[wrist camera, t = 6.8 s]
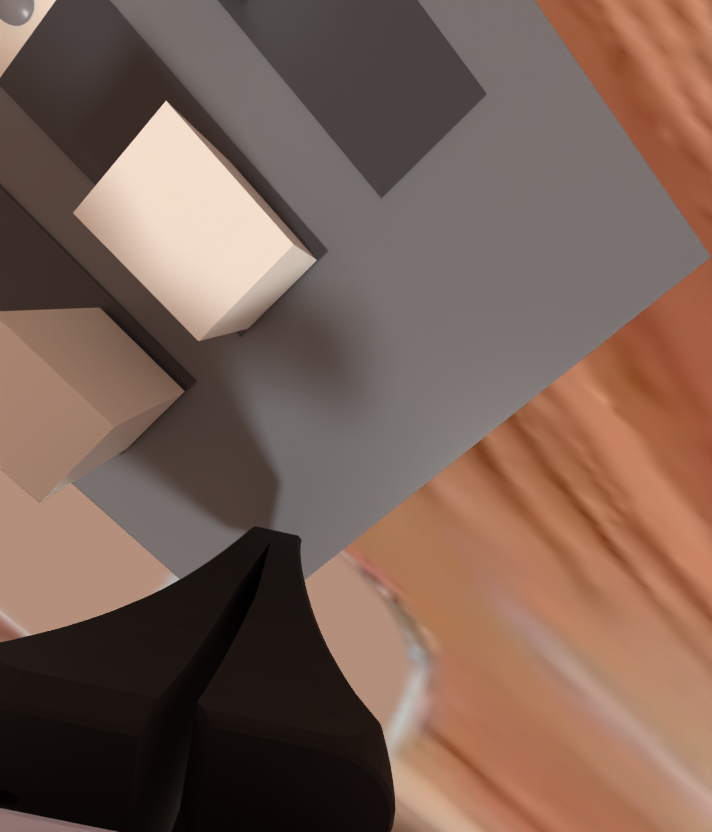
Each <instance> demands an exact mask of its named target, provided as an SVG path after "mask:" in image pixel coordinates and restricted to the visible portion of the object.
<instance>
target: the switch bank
mask: <svg viewBox="0 0 712 832" xmlns="http://www.w3.org/2000/svg"><path fill="white" fill-rule="evenodd" d="M165 101H167V102H168V103H169V104H170V105H171V106H172V107H173V108H174V109H175V110H176V111H177V112H178V113H179V114H181V115H182V116H183V117H184V118H185V119H186V120H187V121H188V122H189V123H190V124H191V125H192V126H193V127H194V128H195V129H196V130H197V131H198V132H199V133H200V134H202V135H203V136H204V137H205V138H206V139H207V140H208V141H209V142H210V143H211V144H212V145H213V146H214V147H215V148H216V149H217V150H218V151H219V152H220V153H221V154H223V155H224V156H225V157H226V158H227V159H228V160H229V161H230V162H231V163H232V164H233V166H234V167H235V168H236V169H237V170H238V171H239V172H240V173H241V175H242V176H243V177H244V178H245V179H246V180H247V181H248V183H249V184H250V185H251V186H252V187H253V188H254V189H255V190H256V192H257V193H258V194H259V195H260V196H261V197H262V198H263V200H264V201H265V202H266V203H267V204H268V205H269V206H270V207H271V209H272V210H273V211H274V212H275V213H276V214H277V215H278V217H279V218H280V219H281V220H282V221H283V222H284V223H285V224H286V226H287V227H288V228H289V229H290V230H291V231H292V232H293V234H294V235H295V236H296V237H297V238H298V239H299V240H300V241H301V243H302V244H303V245H304V246H305V247H306V248H307V249H308V251H309V252H310V253H311V254H312V255H313V256H314V257H315V258H316V260H317V261H316V262H315V263H314V264H313V265H312V266H311V267H310V268H309V269H308V270H307V271H306V272H305V273H304V274H303V275H302V276H301V277H300V278H299V279H298V280H297V281H296V282H295V283H294V284H293V285H292V286H291V287H290V288H289V289H288V290H287V291H286V292H285V293H284V294H283V295H282V296H281V297H280V298H279V299H278V300H277V301H276V302H275V303H274V304H273V305H272V306H270V307H269V308H268V309H267V310H266V311H265V312H264V313H263V314H262V315H261V316H260V317H259V318H258V319H257V320H256V321H255V322H254V323H253V324H252V325H251V326H250V327H249V328H248V329H245V330H241V331H237V332H233V333H229V334H225V335H221V336H217V337H213V338H209V339H205V340H201V341H198V340H197V339H196V338H195V337H194V336H193V335H192V334H191V333H190V332H189V331H188V330H187V329H186V328H185V327H184V326H183V325H182V324H181V323H180V322H179V321H178V320H177V319H176V318H175V317H174V316H173V315H172V314H171V313H170V312H169V311H168V310H167V309H166V308H165V306H164V305H163V304H162V303H161V302H160V301H159V300H158V299H157V298H156V297H155V296H154V295H153V294H152V293H151V292H150V291H149V290H148V289H147V288H146V287H145V286H144V285H143V284H142V283H141V282H140V281H139V280H138V279H137V278H136V277H135V276H134V275H133V274H132V273H131V272H130V271H129V270H128V269H127V268H126V267H125V266H124V265H123V264H122V263H121V262H120V261H119V260H118V259H117V257H116V256H115V255H114V254H113V253H112V252H111V251H110V250H109V249H108V248H107V247H106V246H105V245H104V244H103V243H102V242H101V241H100V240H99V239H98V238H97V237H96V236H95V235H94V234H93V233H92V232H91V231H90V230H89V229H88V228H87V227H86V226H85V225H84V224H83V223H82V222H81V221H80V220H79V219H78V218H77V217H76V216H75V215H74V214H73V212H74V211H75V210H76V209H77V207H78V206H79V205H80V204H81V203H82V201H83V200H84V199H85V198H86V197H87V195H88V194H89V193H90V192H91V191H92V189H93V188H94V187H95V186H96V185H97V183H98V182H99V181H100V180H101V179H102V177H103V176H104V175H105V174H106V173H107V171H108V170H109V169H110V168H111V166H112V165H113V164H114V163H115V162H116V160H117V159H118V158H119V157H120V156H121V154H122V153H123V152H124V151H125V150H126V148H127V147H128V146H129V145H130V144H131V142H132V141H133V140H134V139H135V138H136V136H137V135H138V134H139V133H140V131H141V130H142V129H143V128H144V127H145V125H146V124H147V123H148V122H149V121H150V119H151V118H152V117H153V116H154V115H155V113H156V112H157V111H158V110H159V109H160V107H161V106H162V105H163V104H164V103H165ZM710 257H711V256H710V254H709V253H708V251H707V250H706V248H705V247H704V246H703V244H702V243H701V241H700V240H699V238H698V237H697V235H696V234H695V232H694V231H693V230H692V228H691V227H690V225H689V224H688V222H687V221H686V219H685V218H684V217H683V215H682V214H681V212H680V211H679V209H678V208H677V206H676V205H675V203H674V202H673V201H672V199H671V198H670V196H669V195H668V193H667V192H666V190H665V189H664V187H663V186H662V185H661V183H660V182H659V180H658V179H657V177H656V176H655V174H654V173H653V171H652V170H651V169H650V167H649V166H648V164H647V163H646V161H645V160H644V158H643V157H642V155H641V154H640V153H639V151H638V150H637V148H636V147H635V145H634V144H633V142H632V141H631V139H630V138H629V137H628V135H627V134H626V132H625V131H624V129H623V128H622V126H621V125H620V124H619V122H618V121H617V119H616V118H615V116H614V115H613V113H612V112H611V110H610V109H609V108H608V106H607V105H606V103H605V102H604V100H603V99H602V97H601V96H600V94H599V93H598V92H597V90H596V89H595V87H594V86H593V84H592V83H591V81H590V80H589V78H588V77H587V76H586V74H585V73H584V71H583V70H582V68H581V67H580V65H579V64H578V62H577V61H576V60H575V58H574V57H573V55H572V54H571V52H570V51H569V49H568V48H567V46H566V45H565V44H564V42H563V41H562V39H561V38H560V36H559V35H558V33H557V32H556V31H555V29H554V28H553V26H552V25H551V23H550V22H549V20H548V19H547V17H546V16H545V15H544V13H543V12H542V10H541V9H540V7H539V6H538V4H537V3H536V1H535V0H0V311H21V310H48V309H75V308H101V309H102V310H103V311H104V312H105V313H106V314H107V315H108V316H109V317H110V318H111V319H112V320H113V321H114V322H115V323H116V324H117V325H118V326H119V327H120V328H121V329H122V330H123V331H124V332H125V333H126V334H127V335H128V336H129V337H130V338H131V339H132V340H133V341H134V342H135V343H136V344H137V345H138V346H139V347H140V348H141V349H142V350H143V351H144V352H145V353H146V354H147V355H148V356H149V357H150V358H151V359H152V360H153V361H154V362H155V363H157V364H158V365H159V366H160V367H161V368H162V369H163V370H164V371H165V372H166V373H167V374H168V375H169V376H170V377H171V378H172V379H173V380H174V381H175V382H176V383H177V384H178V385H179V386H180V387H181V388H182V389H183V390H184V391H185V392H184V393H183V394H182V395H181V396H180V397H179V398H178V399H177V400H176V401H175V402H174V403H173V404H172V405H171V406H170V407H169V408H168V409H167V410H166V411H165V412H164V413H163V414H161V415H160V416H159V417H158V418H157V419H156V420H155V421H154V422H153V423H152V424H151V425H150V426H149V427H148V428H147V429H146V430H145V431H144V432H143V433H142V434H141V435H140V436H139V437H138V438H137V439H136V440H135V441H134V442H133V443H132V444H131V445H130V446H129V447H128V448H127V449H126V450H124V451H123V452H121V453H119V454H118V455H116V456H115V457H113V458H111V459H110V460H108V461H106V462H105V463H103V464H102V465H100V466H98V467H97V468H95V469H94V470H92V471H90V472H89V473H87V474H85V475H84V476H82V477H81V478H79V479H77V480H76V481H74V482H72V484H73V485H74V486H75V487H77V488H78V489H79V490H80V491H81V492H82V493H83V494H84V495H86V496H87V497H88V498H89V499H90V500H91V501H92V502H94V503H95V504H96V505H97V506H98V507H99V508H100V509H101V510H103V511H104V512H105V513H106V514H107V515H108V516H109V517H111V519H113V520H114V521H115V522H116V523H117V524H118V525H119V526H121V527H122V528H123V529H124V530H125V531H126V532H127V533H128V534H129V535H131V536H132V537H133V538H134V539H135V540H136V541H137V542H138V543H140V544H141V545H142V546H143V547H144V548H145V549H146V550H147V551H149V552H150V553H151V554H152V555H153V556H154V557H155V558H156V559H158V560H159V561H160V562H161V563H162V564H164V565H165V566H166V567H167V568H168V569H169V570H170V571H171V572H172V573H173V574H175V575H176V576H177V577H178V578H179V579H182V578H183V577H185V576H187V575H188V574H190V573H191V572H193V571H194V570H196V569H198V568H199V567H201V566H202V565H204V564H205V563H207V562H208V561H210V560H211V559H212V558H214V557H215V556H217V555H218V554H219V553H221V552H222V551H223V550H225V549H226V548H227V547H229V546H230V545H231V544H233V543H234V542H235V541H236V540H238V539H239V538H240V537H241V536H242V535H244V534H245V533H246V532H247V531H248V530H250V529H251V528H253V527H254V526H257V527H262V528H266V529H271V530H275V531H280V532H284V533H289V534H293V535H298V536H299V537H300V538H301V540H302V542H301V564H302V571H303V576H304V580H305V579H306V578H308V577H309V576H310V575H311V574H312V573H314V572H315V571H316V570H318V569H319V568H320V567H321V566H323V565H324V564H325V563H327V562H328V561H329V560H330V559H331V558H333V557H334V556H335V555H337V554H338V553H339V552H340V551H342V550H343V549H344V548H345V547H347V546H348V545H349V544H350V543H352V542H353V541H354V540H355V539H357V538H358V537H359V536H360V535H362V534H363V533H364V532H365V531H367V530H368V529H369V528H371V527H372V526H373V525H374V524H376V523H377V522H378V521H379V520H381V519H382V518H383V517H384V516H386V515H387V514H388V513H389V512H391V511H392V510H393V509H394V508H396V507H397V506H398V505H399V504H401V503H402V502H403V501H404V500H406V499H407V498H408V497H409V496H411V495H412V494H413V493H415V492H416V491H417V490H418V489H420V488H421V487H422V486H423V485H425V484H426V483H427V482H428V481H430V480H431V479H432V478H433V477H435V476H436V475H437V474H438V473H440V472H441V471H442V470H443V469H445V468H446V467H447V466H448V465H450V464H451V463H452V462H453V461H455V460H456V459H457V458H459V457H460V456H461V455H462V454H464V453H465V452H466V451H467V450H469V449H470V448H471V447H472V446H474V445H475V444H476V443H477V442H479V441H480V440H481V439H482V438H484V437H485V436H486V435H487V434H489V433H490V432H491V431H492V430H494V429H495V428H496V427H497V426H499V425H500V424H501V423H503V422H504V421H505V420H506V419H508V418H509V417H510V416H511V415H513V414H514V413H515V412H516V411H518V410H519V409H520V408H521V407H523V406H524V405H525V404H526V403H528V402H529V401H530V400H531V399H533V398H534V397H535V396H536V395H538V394H539V393H540V392H541V391H543V390H544V389H545V388H547V387H548V386H549V385H550V384H552V383H553V382H554V381H555V380H557V379H558V378H559V377H560V376H562V375H563V374H564V373H565V372H567V371H568V370H569V369H570V368H572V367H573V366H574V365H575V364H577V363H578V362H579V361H580V360H582V359H583V358H584V357H585V356H587V355H588V354H589V353H591V352H592V351H593V350H594V349H596V348H597V347H598V346H599V345H601V344H602V343H603V342H604V341H606V340H607V339H608V338H609V337H611V336H612V335H613V334H614V333H616V332H617V331H618V330H619V329H621V328H622V327H623V326H624V325H626V324H627V323H628V322H629V321H631V320H632V319H633V318H635V317H636V316H637V315H638V314H640V313H641V312H642V311H643V310H645V309H646V308H647V307H648V306H650V305H651V304H652V303H653V302H655V301H656V300H657V299H658V298H660V297H661V296H662V295H663V294H665V293H666V292H667V291H668V290H670V289H671V288H672V287H673V286H675V285H676V284H677V283H679V282H680V281H681V280H682V279H684V278H685V277H686V276H687V275H689V274H690V273H691V272H692V271H694V270H695V269H696V268H697V267H699V266H700V265H701V264H702V263H704V262H705V261H706V260H707V259H709V258H710Z"/></svg>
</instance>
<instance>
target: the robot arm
mask: <svg viewBox="0 0 712 832" xmlns="http://www.w3.org/2000/svg"><path fill="white" fill-rule="evenodd" d="M301 542H302V540H301V538H300V537H299V536H298V535H293V534H289V533H284V532H280V531H275V530H271V529H266V528H262V527H257V526H254V527H253V528H251V529H250V530H248V531H247V532H246V533H245V534H244V535H242V536H241V537H240V538H239V539H238V540H236V541H235V542H234V543H233V544H231V545H230V546H229V547H227V548H226V549H225V550H223V551H222V552H221V553H219V554H218V555H217V556H215V557H214V558H212V559H211V560H210V561H208V562H207V563H205V564H204V565H202V566H201V567H199V568H198V569H196V570H194V571H193V572H191V573H190V574H188V575H187V576H185V577H183V578H182V579H180V580H178V581H177V582H175V583H173V584H171V585H169V586H168V587H166V588H164V589H162V590H160V591H158V592H156V593H154V594H152V595H150V596H148V597H145V598H143V599H141V600H138V601H136V602H133V603H131V604H129V605H126V606H124V607H121V608H119V609H116V610H114V611H111V612H109V613H106V614H103V615H100V616H97V617H94V618H91V619H89V620H85V621H82V622H79V623H76V624H72V625H69V626H66V627H62V628H59V629H55V630H51V631H47V632H43V633H39V634H35V635H31V636H27V637H23V638H18V639H14V640H10V641H5V642H1V643H0V832H391V830H392V827H393V821H394V815H395V794H394V786H393V779H392V772H391V766H390V761H389V756H388V751H387V747H386V743H385V739H384V735H383V731H382V727H381V725H380V723H379V722H378V721H377V719H376V718H375V717H374V716H373V714H372V713H371V712H370V711H369V710H368V708H367V707H366V706H365V705H364V703H363V702H362V701H361V700H360V699H359V697H358V696H357V695H356V694H355V692H354V691H353V689H352V688H351V686H350V685H349V683H348V682H347V680H346V679H345V677H344V675H343V674H342V672H341V670H340V668H339V667H338V665H337V663H336V661H335V660H334V658H333V656H332V654H331V653H330V651H329V649H328V647H327V645H326V642H325V640H324V639H323V636H322V634H321V631H320V629H319V627H318V624H317V622H316V619H315V616H314V614H313V610H312V608H311V604H310V601H309V597H308V594H307V590H306V586H305V581H304V576H303V571H302V564H301Z"/></svg>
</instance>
